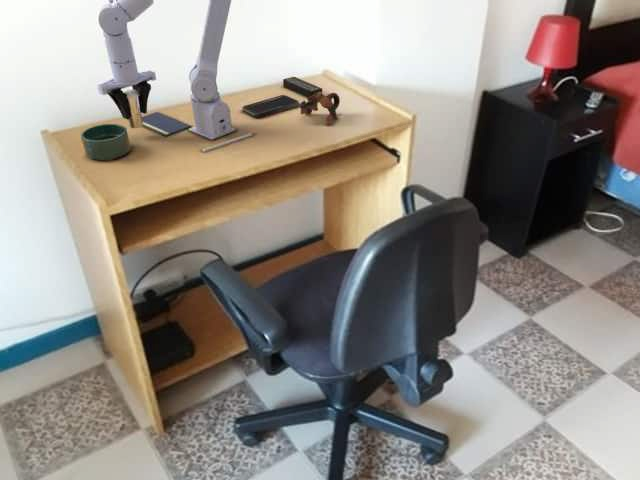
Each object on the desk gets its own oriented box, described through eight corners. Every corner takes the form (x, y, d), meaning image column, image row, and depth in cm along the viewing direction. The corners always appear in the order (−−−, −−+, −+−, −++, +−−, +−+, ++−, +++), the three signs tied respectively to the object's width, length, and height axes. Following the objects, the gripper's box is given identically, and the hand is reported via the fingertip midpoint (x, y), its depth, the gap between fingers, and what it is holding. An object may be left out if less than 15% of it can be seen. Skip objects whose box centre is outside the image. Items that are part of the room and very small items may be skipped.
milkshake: (142, 130, 144) (134, 90, 138) (123, 128, 145) (114, 88, 139) (151, 124, 148) (144, 84, 142) (132, 122, 148) (124, 83, 143)
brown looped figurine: (324, 131, 153) (307, 103, 150) (305, 136, 161) (289, 109, 157) (353, 108, 158) (338, 80, 155) (334, 113, 166) (319, 87, 163)
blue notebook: (191, 127, 154) (190, 125, 153) (165, 136, 149) (165, 134, 148) (157, 113, 161) (157, 111, 161) (132, 121, 156) (131, 119, 156)
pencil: (254, 133, 150) (204, 151, 141) (253, 136, 150) (204, 153, 142) (252, 131, 150) (202, 148, 141) (251, 133, 150) (202, 150, 142)
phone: (240, 106, 162) (283, 94, 170) (241, 110, 163) (283, 98, 171) (257, 114, 157) (300, 101, 166) (257, 118, 158) (300, 105, 166)
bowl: (140, 151, 141) (135, 131, 138) (101, 165, 135) (95, 145, 132) (116, 140, 147) (111, 120, 143) (78, 153, 140) (72, 133, 137)
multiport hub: (294, 83, 182) (293, 76, 180) (323, 96, 173) (322, 88, 172) (282, 86, 179) (282, 79, 178) (311, 99, 171) (311, 91, 169)
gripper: (139, 49, 143) (150, 103, 151) (84, 63, 134) (99, 119, 142) (156, 55, 139) (167, 110, 147) (101, 69, 130) (116, 127, 138)
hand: (135, 115), depth 144 cm, fingers closed on milkshake, 4 cm apart
